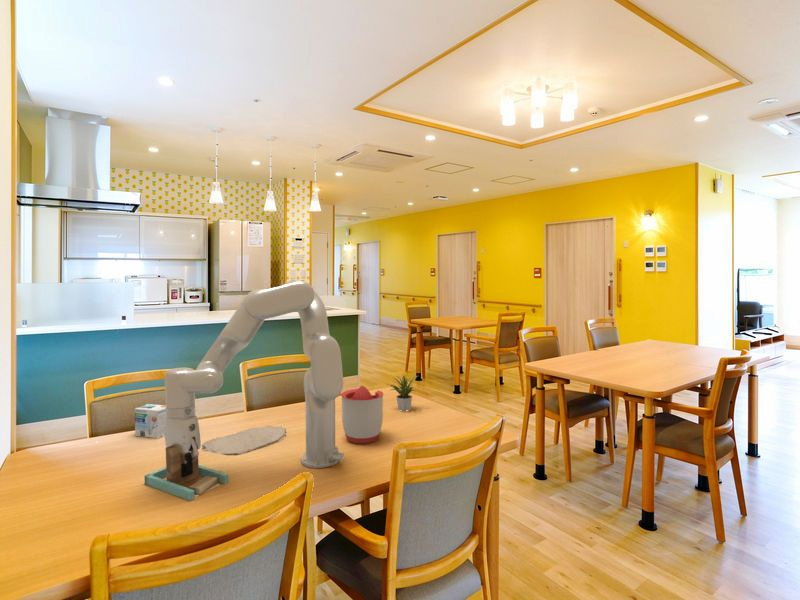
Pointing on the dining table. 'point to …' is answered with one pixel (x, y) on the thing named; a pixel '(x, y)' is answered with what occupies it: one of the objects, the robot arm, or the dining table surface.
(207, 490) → the offcut slab lower
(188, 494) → the open frame
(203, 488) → the offcut slab upper
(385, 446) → the dining table surface
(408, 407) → the house plant
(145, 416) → the light bulb box
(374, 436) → the citrus juicer
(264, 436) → the stone tablet
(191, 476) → the tall oak sheet
